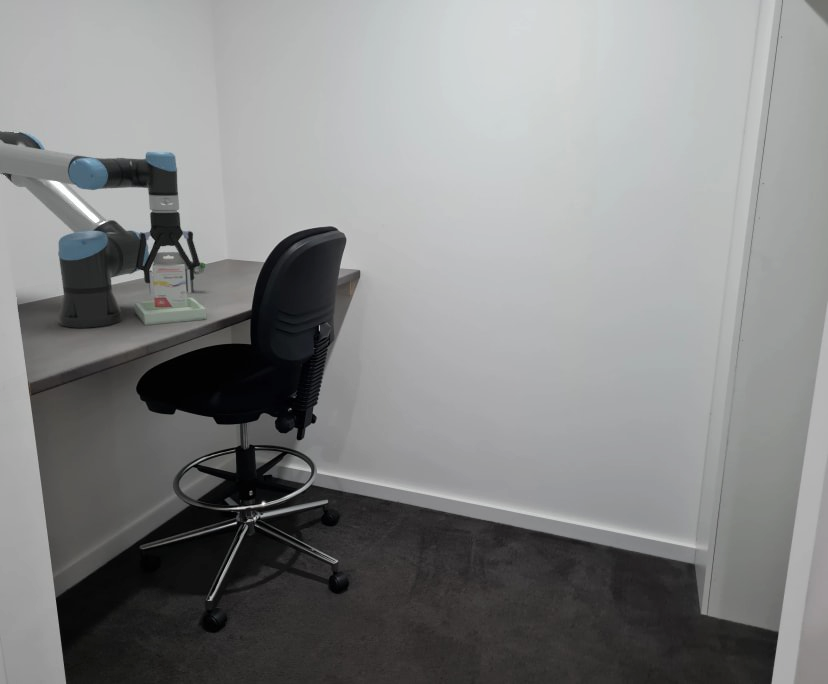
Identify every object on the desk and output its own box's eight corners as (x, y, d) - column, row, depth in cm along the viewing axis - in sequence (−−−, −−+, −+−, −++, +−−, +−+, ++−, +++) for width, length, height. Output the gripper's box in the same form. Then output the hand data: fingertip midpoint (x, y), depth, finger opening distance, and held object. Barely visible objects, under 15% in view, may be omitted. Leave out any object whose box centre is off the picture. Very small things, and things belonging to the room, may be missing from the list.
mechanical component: (203, 293, 218) (201, 263, 216) (174, 291, 220) (172, 261, 218) (207, 292, 221) (205, 261, 218) (179, 290, 223) (177, 260, 220)
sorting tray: (145, 325, 177) (144, 314, 176) (135, 312, 190) (134, 302, 190) (206, 319, 185) (206, 308, 184) (192, 307, 198) (192, 297, 198)
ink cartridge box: (154, 308, 184) (150, 254, 180) (155, 304, 188) (151, 252, 184) (187, 306, 186) (184, 254, 182) (187, 303, 191) (184, 251, 187)
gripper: (123, 213, 172) (130, 298, 178) (209, 211, 183) (213, 292, 189) (119, 210, 178) (126, 293, 184) (202, 209, 189) (206, 287, 195)
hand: (170, 293), depth 186 cm, fingers closed on ink cartridge box, 9 cm apart
